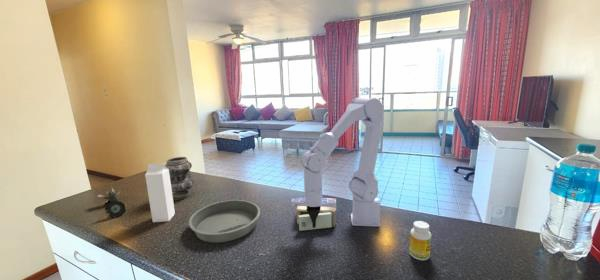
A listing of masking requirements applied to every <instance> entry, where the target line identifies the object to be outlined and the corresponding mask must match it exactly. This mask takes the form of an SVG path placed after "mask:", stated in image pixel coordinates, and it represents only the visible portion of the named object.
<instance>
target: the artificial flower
mask: <svg viewBox="0 0 600 280" xmlns="http://www.w3.org/2000/svg"><path fill="white" fill-rule="evenodd" d="M109 189H110V190H111V191H105V194H106V196H104V195H102V194H98V195H97V197H98V198H101V200H106V201H105V202H106V204H107V203H108V202H109V203H108V204H107V205H106V206H105V208H104V211H105V214H106V215H107V217H109V218H111V219H114V218H113V217H114V216H118V217H117V218H119V217H120V216H122V215H124V214H125V213H126V211H127V209H126V205H125V204H124V203H123V202H122V201H121V200H120V199H118V195H119V194H120V193H121V192H122V191H121V190H119V191H118V192H117V193H116V192H115V189H114V188H113V187H112V186H110V187H109ZM109 200H110V201H109ZM108 214H109V215H108Z"/></svg>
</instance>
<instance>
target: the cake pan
mask: <svg viewBox="0 0 600 280" xmlns="http://www.w3.org/2000/svg"><path fill="white" fill-rule="evenodd" d="M260 214H261V209H260V207H259V206H258V205H257V204H256V203H254V202H251V201H248V200H244V199H230V200H223V201H218V202H214V203H211V204H208V205H206V206H203V207H202V208H200V209H198V210H197V211H195V212H194V213H193V214H192V215H191V216H190V218H189V220H188V227H189V228H190V229H191V230H192V231H193V232H194V234H195V235H196V237H197V238H198V239H199V240H201V241H203V242H207V243H224V242H230V241H233V240H236V239H239V238H243V236H245V235H247V234H249V233H250V232H251V231H252V230H253V229H254V228H255V227H256V224H257V221H258V218H259V217H260ZM237 219H238V220H237ZM240 225H243V226H241V227H239V228H236V229H233V230H229V229H231V228H234V227H238V226H240ZM224 230H228V231H224Z"/></svg>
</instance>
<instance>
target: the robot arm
mask: <svg viewBox="0 0 600 280" xmlns="http://www.w3.org/2000/svg"><path fill="white" fill-rule="evenodd" d="M384 109H385V106H384V105H383V103H382V101H381V100H379V98H376V97H372V98H371V97H370V98H368V97H367V98H366V97H355V98H353V99H352V100H351V102H350V103H349V104H347V106H346V110H345V111H344V113H343V114H342V115H341V117H340V118H339V119H338V121H337V122H336V123H335V125H334V126H333V127H332V128H331V130H330V131H329V132H324V133H323V134H320V135H319V137H318V138H319V139H318V140H317V141H316V142H315V143H314V144H313V146H310V148H309V150H306V151H305V152H304V153H303V154H302V156H301V159H299V161H300V164H301V165H302V166H303V186H304V197H298V198H297V197H296V198H291V207H296V206H307V213H308V214H309V216H310V218H311V220H312V223H313V225H312V226H313V228H316V219H317V216H318V214H319V212H320V207H333V208H336V209H337V199H336V200H331V199H325V198H326V197H323V176H322V175H323V171H322V170H323V169H324V168H325V166H326V161H327V160H328V159H327V158H328V157H329V156H330V155H331V154H332V152H333V151H334V150H335V149H336V148H337V146H339V139H340V137H341V136H342V135H344V133H345V132H346V131H347V130H348V129H349V128H350V127H351V126H352V125H353V124H354V123H355V122H359V121H361V122H362V123H363V125H364V126H365V131H364V134H363V135H364V136H363V141H362V145H361V146H362V147H361V152H360V157H359V161H358V163H359V164H358V168H357V170H356V171H354V172H353V173H352V175H351V179H350V180H349V182H348V189H349V191H350V192H351V196H352V213H350V219H351V220H350V221H351V225H352V226H356V227H378V228H380V226H381V225H380V222H381V220H380V219H381V203H380V199H379V197H377V196H378V194H379V186H378V184H379V180H378V179H377V176H376V175H375V169H376V164H377V159H378V153H379V149H380V143H381V139H382V133H383V127H384V116H383V114H384Z"/></svg>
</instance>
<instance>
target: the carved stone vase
mask: <svg viewBox="0 0 600 280" xmlns="http://www.w3.org/2000/svg"><path fill="white" fill-rule="evenodd" d="M165 167H166V168H167V169H169V175H170V182H171V189H172V196H173V201H174V200H176V201H177V200H183V199H187V198H190V197H191V196H192V195H193V194H194V191H193V190H191V188H192V187H193V186H194V185H195V179H193V178H192V177H191V172H190V171H191V168H192V163H191V162H190V161H188V157H186V156H177V157H171V158H169V159H167V160H166V164H165Z"/></svg>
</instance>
